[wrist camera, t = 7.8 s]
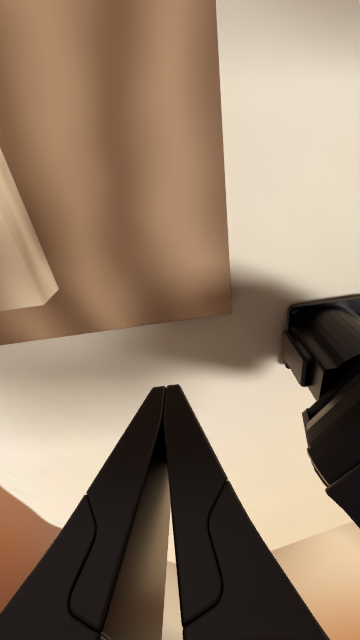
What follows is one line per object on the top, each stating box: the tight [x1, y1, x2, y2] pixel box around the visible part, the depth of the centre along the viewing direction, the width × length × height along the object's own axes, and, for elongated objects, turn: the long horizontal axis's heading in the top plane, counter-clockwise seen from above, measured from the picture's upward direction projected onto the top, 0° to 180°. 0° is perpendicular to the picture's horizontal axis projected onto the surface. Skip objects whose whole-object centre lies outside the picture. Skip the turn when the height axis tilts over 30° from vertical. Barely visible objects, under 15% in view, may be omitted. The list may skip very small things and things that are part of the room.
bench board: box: [0, 0, 232, 345], centre depth 17 cm, size 24×18×2 cm
